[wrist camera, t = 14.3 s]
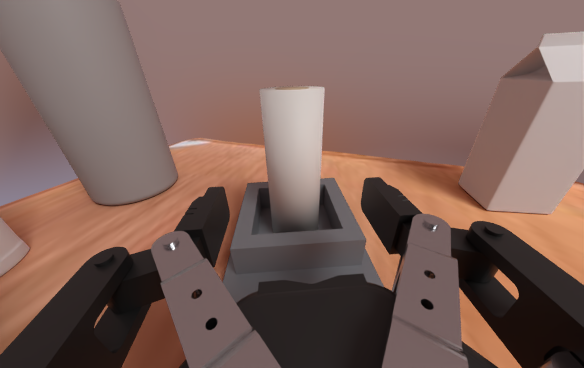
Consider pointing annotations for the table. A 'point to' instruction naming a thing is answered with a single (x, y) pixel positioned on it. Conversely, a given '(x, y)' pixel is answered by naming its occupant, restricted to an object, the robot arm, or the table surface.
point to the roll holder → (295, 244)
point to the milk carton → (532, 131)
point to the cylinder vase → (90, 94)
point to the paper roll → (293, 154)
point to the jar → (10, 248)
